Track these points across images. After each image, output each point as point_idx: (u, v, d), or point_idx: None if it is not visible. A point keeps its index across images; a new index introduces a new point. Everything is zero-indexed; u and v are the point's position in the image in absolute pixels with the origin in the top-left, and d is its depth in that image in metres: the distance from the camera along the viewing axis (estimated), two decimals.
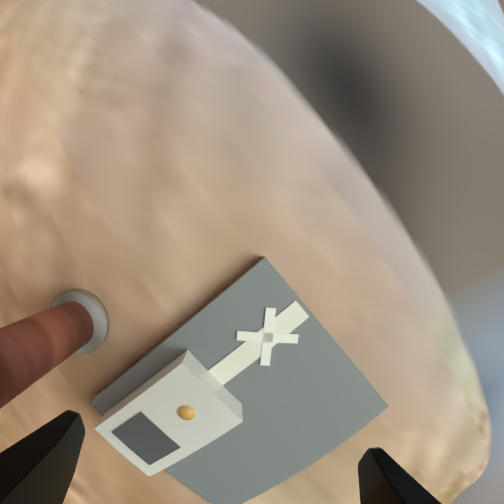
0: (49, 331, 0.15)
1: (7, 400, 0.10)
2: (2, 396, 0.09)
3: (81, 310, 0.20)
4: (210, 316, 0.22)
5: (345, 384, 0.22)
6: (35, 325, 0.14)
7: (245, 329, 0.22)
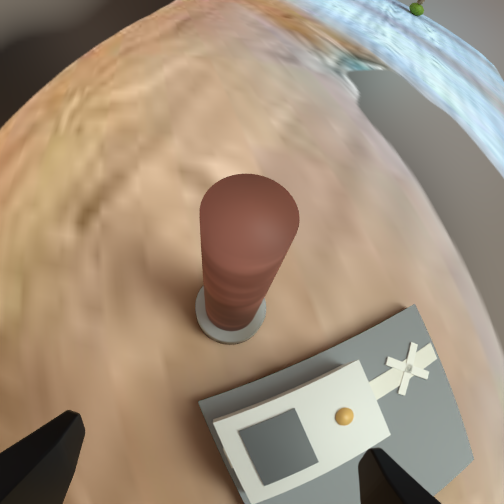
0: None
1: (274, 263, 0.12)
2: (289, 245, 0.11)
3: None
4: (369, 338, 0.22)
5: (450, 428, 0.19)
6: None
7: (393, 357, 0.22)
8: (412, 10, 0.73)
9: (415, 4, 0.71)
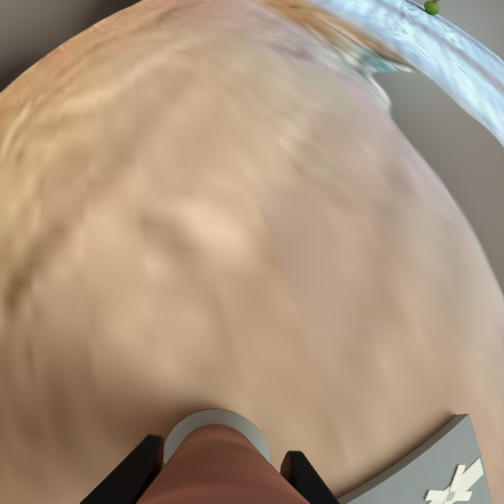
0: None
1: None
2: None
3: None
4: (410, 474, 0.12)
5: None
6: (267, 461, 0.07)
7: (435, 488, 0.12)
8: (427, 8, 0.64)
9: (430, 2, 0.62)
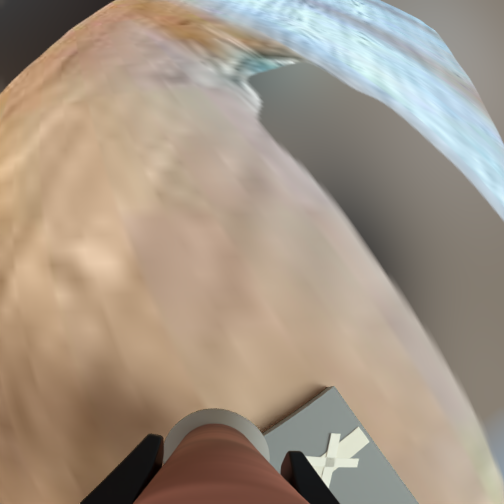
0: None
1: None
2: None
3: None
4: (274, 440, 0.18)
5: None
6: (267, 460, 0.07)
7: (308, 454, 0.18)
8: None
9: None
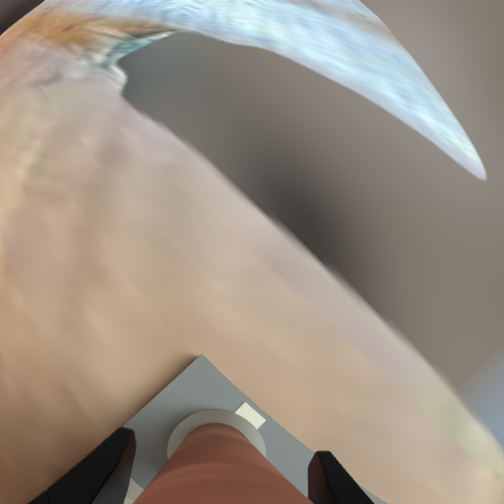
0: None
1: None
2: None
3: None
4: (141, 425, 0.15)
5: None
6: None
7: None
8: None
9: None
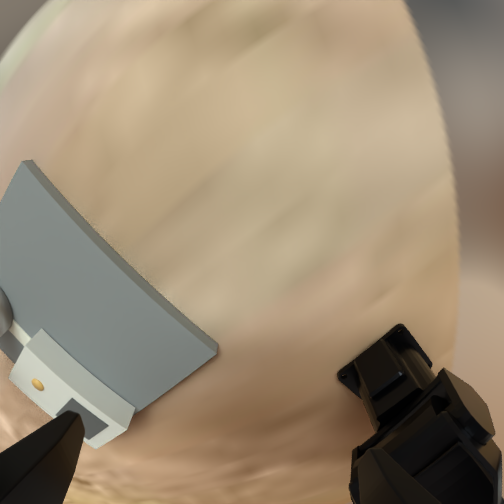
0: None
1: None
2: None
3: None
4: None
5: (5, 228, 0.18)
6: None
7: None
8: None
9: None
